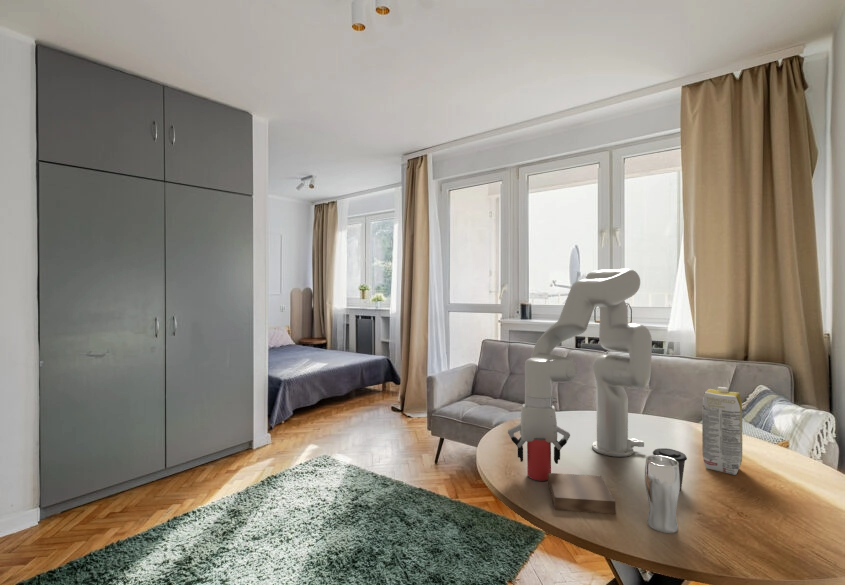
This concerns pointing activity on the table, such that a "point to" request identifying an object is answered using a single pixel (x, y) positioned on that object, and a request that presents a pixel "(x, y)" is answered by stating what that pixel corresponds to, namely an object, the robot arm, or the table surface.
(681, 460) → the coffee cup
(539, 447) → the beer can
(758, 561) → the table surface
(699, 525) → the table surface
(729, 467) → the juice carton
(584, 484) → the walnut base
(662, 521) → the beer glass
